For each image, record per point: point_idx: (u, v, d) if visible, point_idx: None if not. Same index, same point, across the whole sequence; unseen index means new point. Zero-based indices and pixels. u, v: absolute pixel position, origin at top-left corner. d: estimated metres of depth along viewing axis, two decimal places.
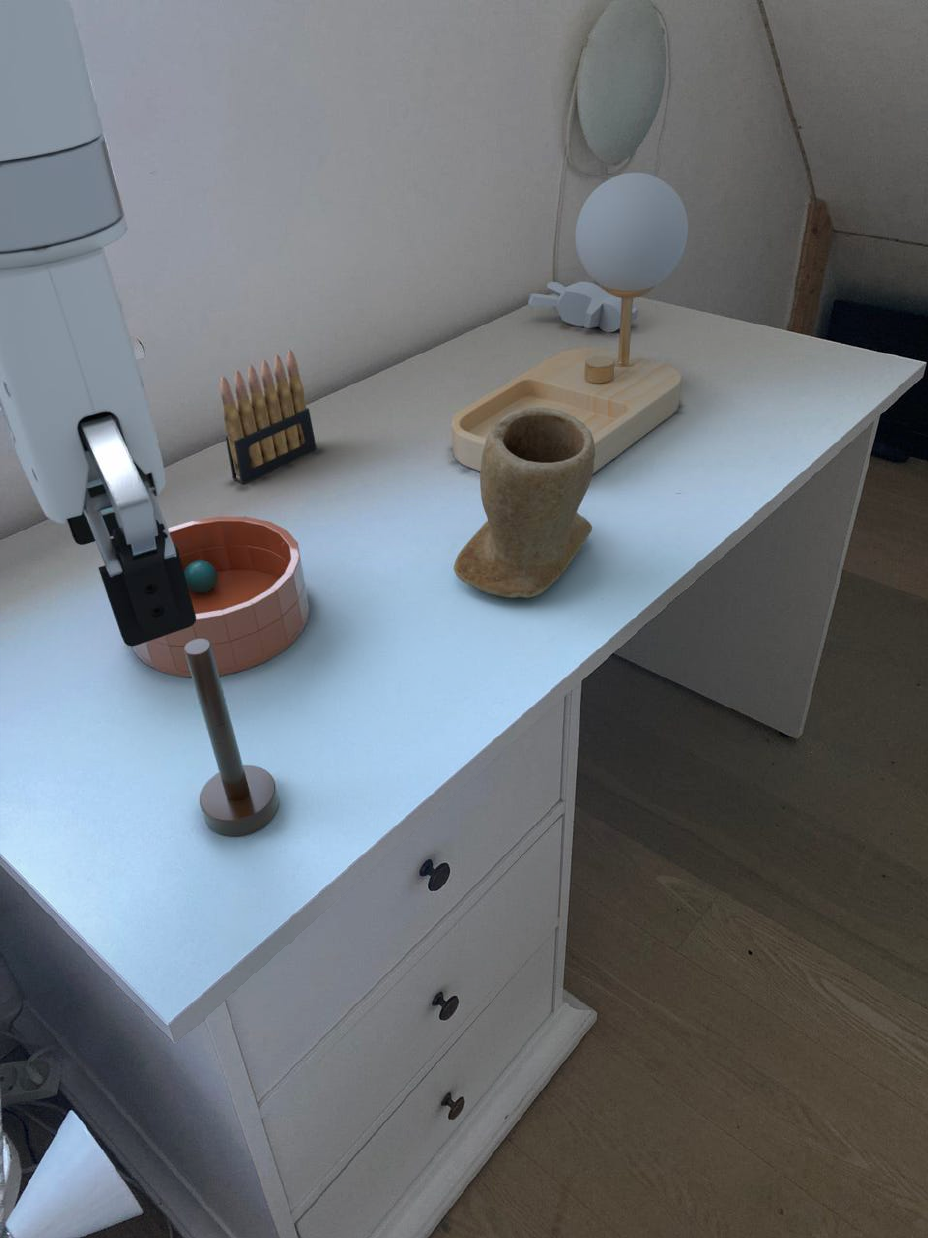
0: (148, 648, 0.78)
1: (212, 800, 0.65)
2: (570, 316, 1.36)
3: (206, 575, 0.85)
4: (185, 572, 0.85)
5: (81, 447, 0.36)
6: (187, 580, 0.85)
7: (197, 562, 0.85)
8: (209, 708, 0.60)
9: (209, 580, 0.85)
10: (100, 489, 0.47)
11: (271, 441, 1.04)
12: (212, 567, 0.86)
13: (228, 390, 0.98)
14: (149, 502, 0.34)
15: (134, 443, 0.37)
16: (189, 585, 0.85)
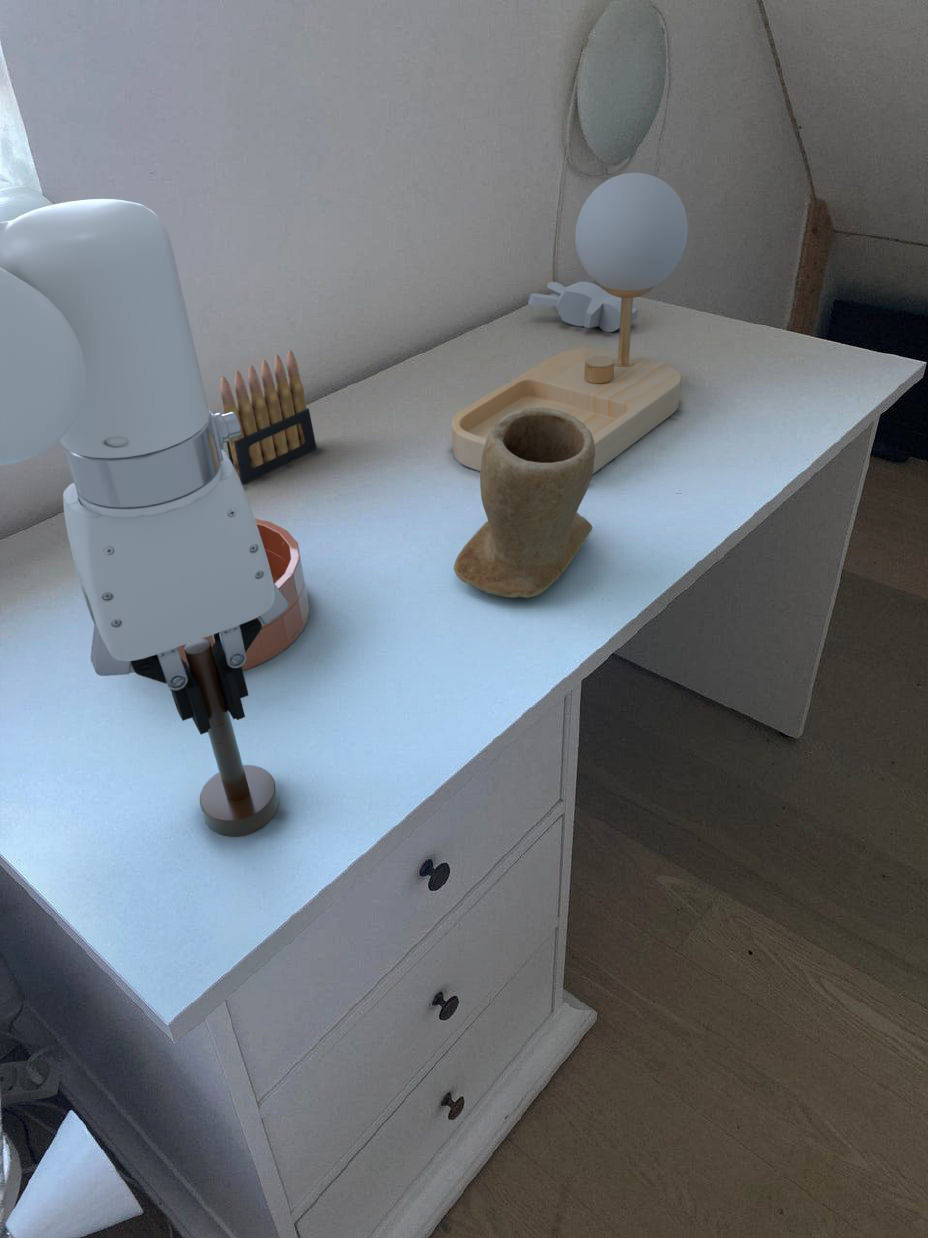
0: None
1: (212, 800, 0.65)
2: (570, 316, 1.36)
3: None
4: None
5: (85, 599, 0.53)
6: None
7: None
8: (209, 708, 0.60)
9: None
10: (220, 679, 0.59)
11: (271, 441, 1.04)
12: None
13: (228, 390, 0.98)
14: (96, 672, 0.54)
15: None
16: None
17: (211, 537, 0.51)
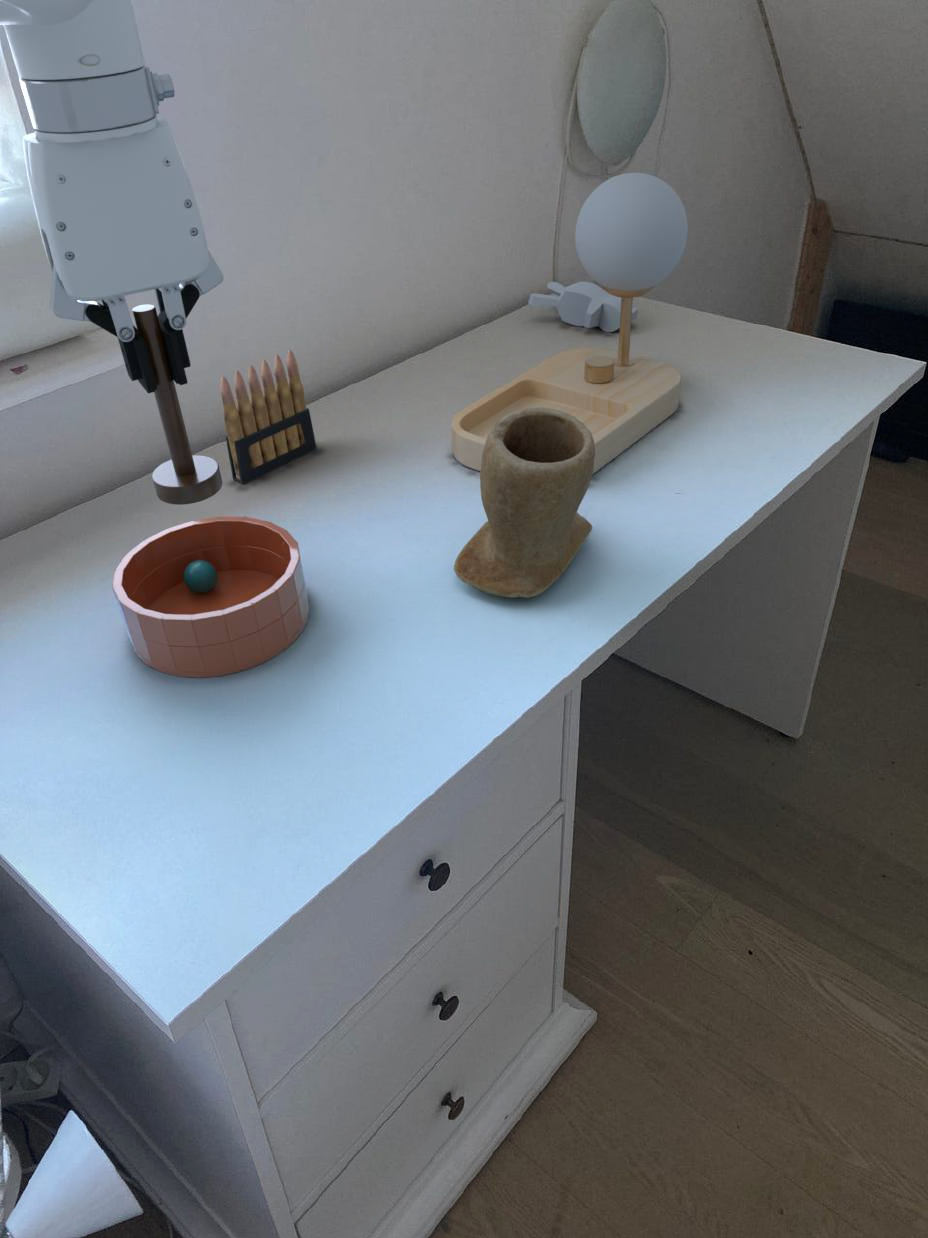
0: (148, 648, 0.78)
1: (162, 475, 0.74)
2: (570, 316, 1.36)
3: (206, 575, 0.85)
4: (185, 572, 0.85)
5: (44, 244, 0.62)
6: (187, 580, 0.85)
7: (197, 562, 0.85)
8: (155, 371, 0.69)
9: (209, 580, 0.85)
10: None
11: (271, 441, 1.04)
12: (212, 567, 0.86)
13: (228, 390, 0.98)
14: None
15: None
16: (189, 585, 0.85)
17: (149, 182, 0.61)
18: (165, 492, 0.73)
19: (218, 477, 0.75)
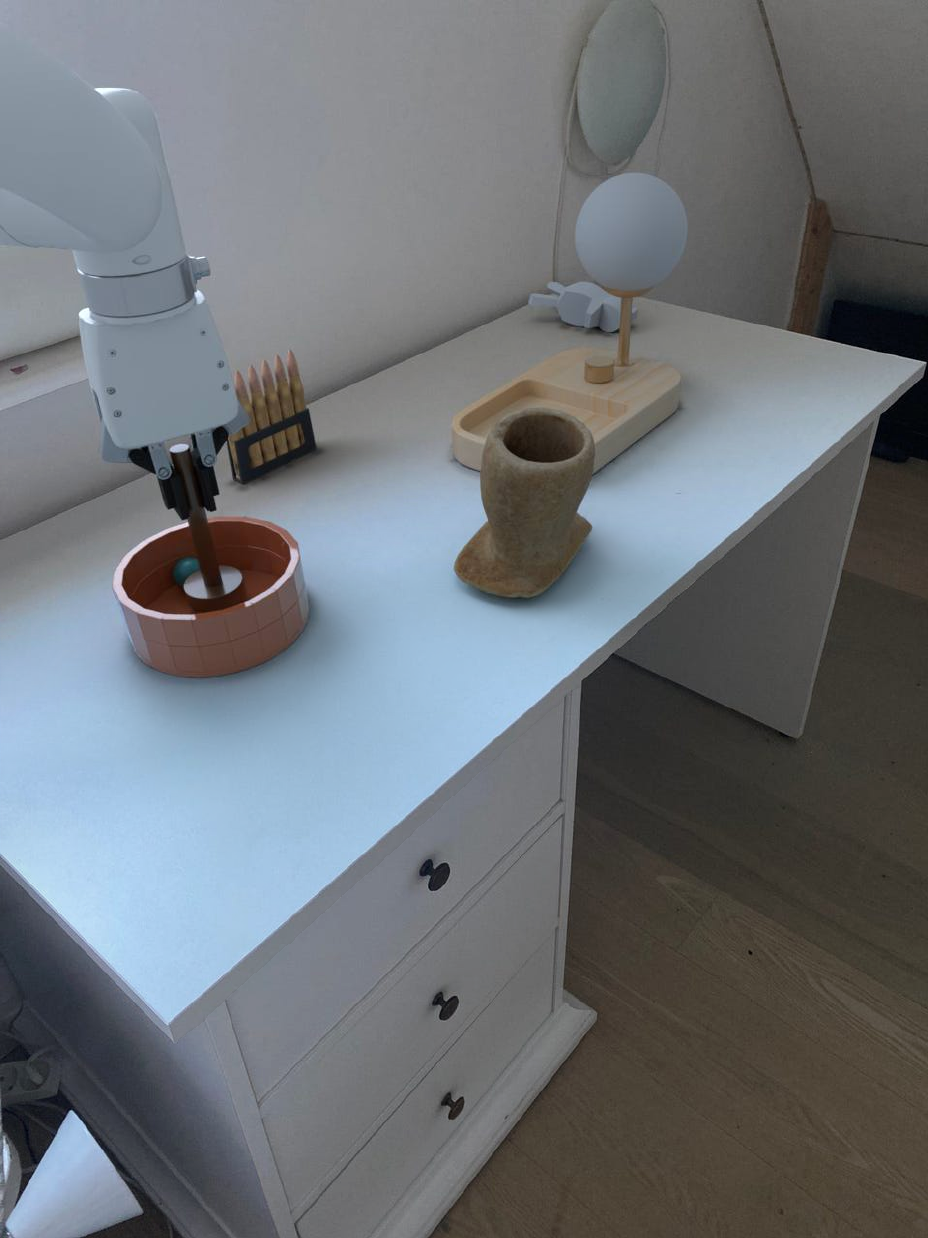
0: (148, 648, 0.78)
1: (193, 586, 0.83)
2: (570, 316, 1.36)
3: (187, 564, 0.85)
4: (173, 572, 0.86)
5: (95, 400, 0.71)
6: (174, 577, 0.86)
7: None
8: (188, 501, 0.78)
9: (190, 567, 0.85)
10: (197, 478, 0.77)
11: (271, 441, 1.04)
12: (195, 559, 0.86)
13: None
14: (102, 458, 0.72)
15: None
16: (177, 581, 0.85)
17: (188, 350, 0.69)
18: (195, 602, 0.82)
19: (242, 587, 0.84)
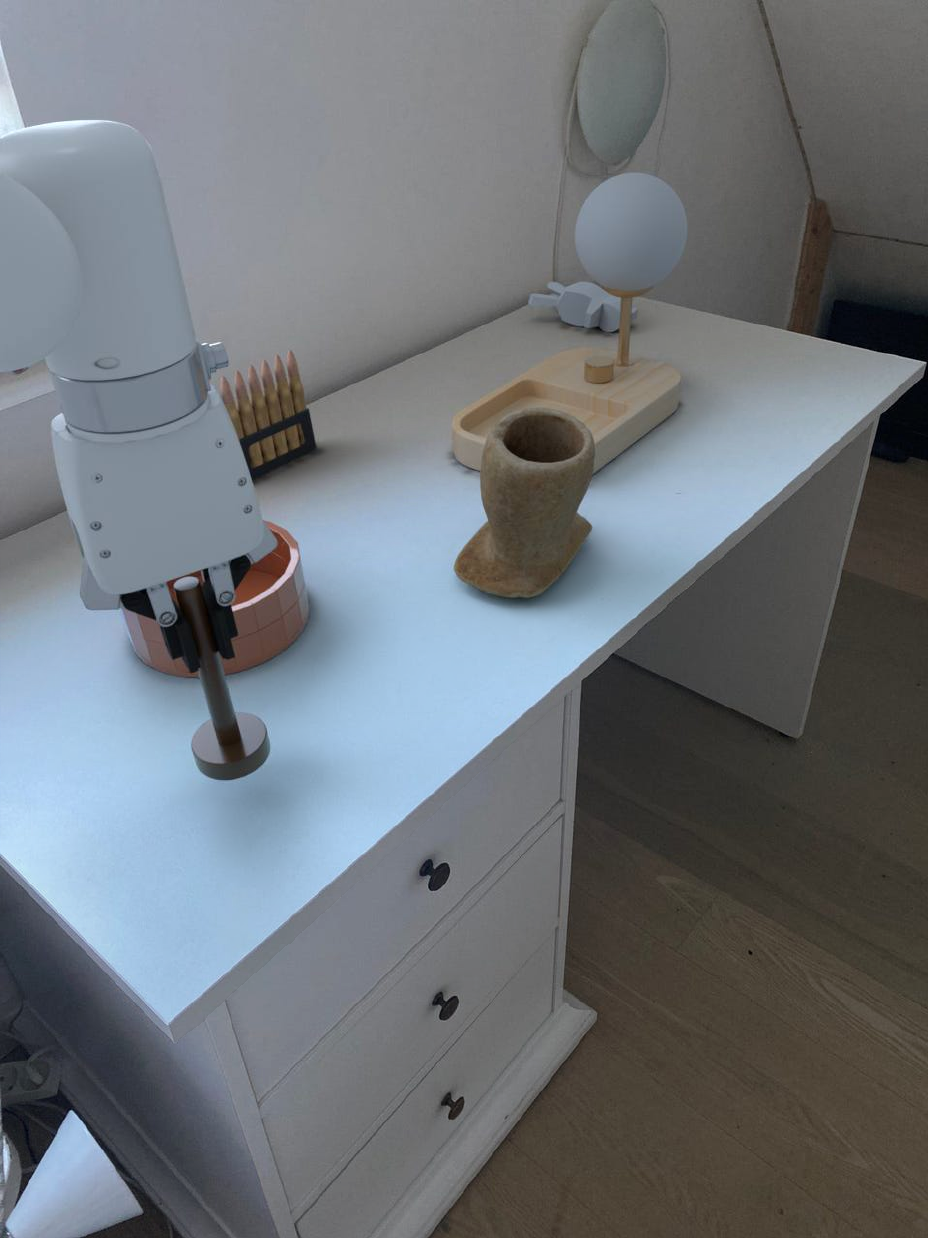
0: (148, 648, 0.78)
1: (203, 746, 0.65)
2: (570, 316, 1.36)
3: None
4: None
5: (74, 532, 0.53)
6: None
7: None
8: (199, 647, 0.60)
9: None
10: None
11: (271, 441, 1.04)
12: None
13: (228, 390, 0.98)
14: (85, 606, 0.54)
15: None
16: None
17: (199, 467, 0.52)
18: (208, 768, 0.64)
19: (267, 744, 0.66)
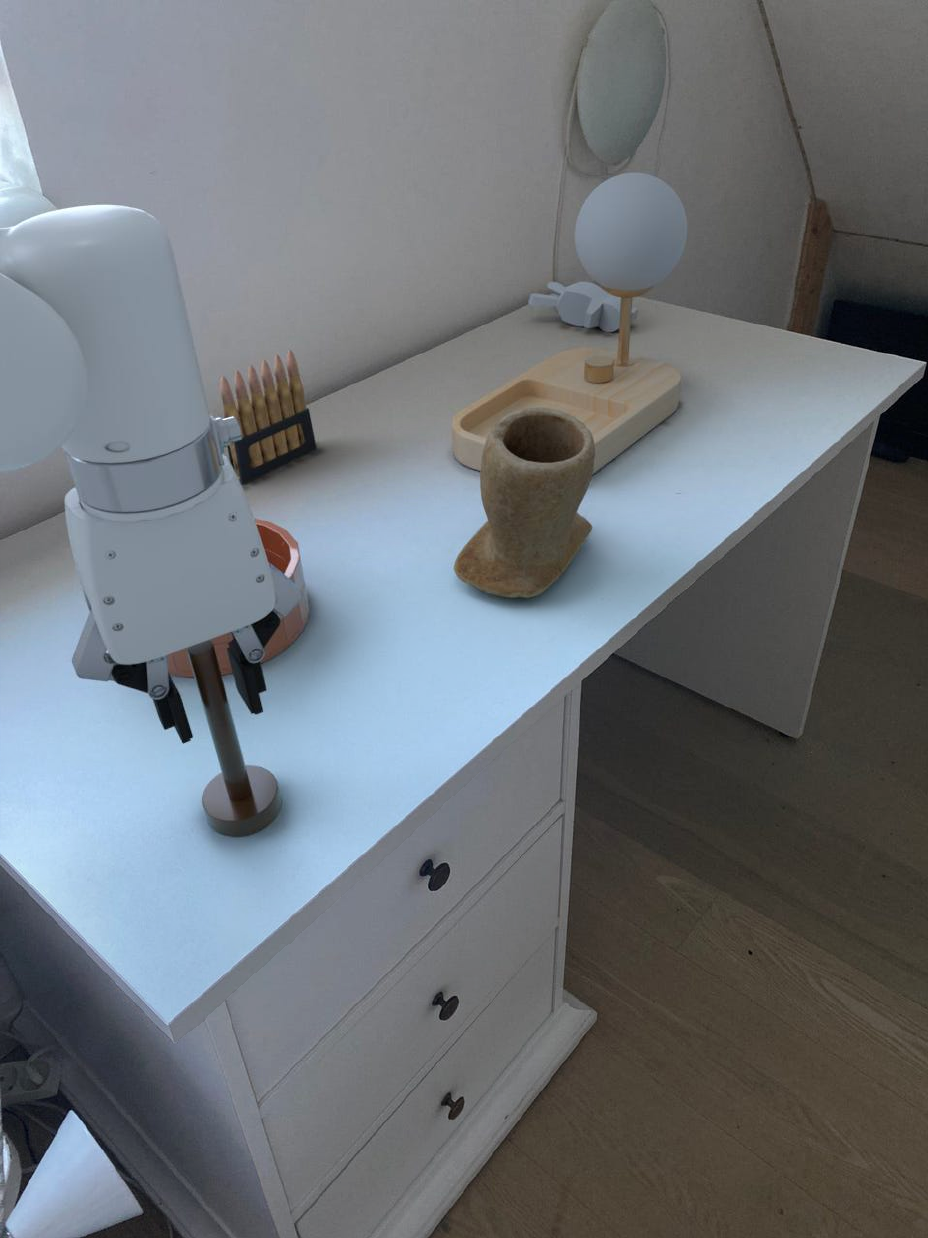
0: None
1: (214, 801, 0.65)
2: (570, 316, 1.36)
3: None
4: None
5: (87, 603, 0.53)
6: None
7: None
8: (211, 708, 0.60)
9: None
10: (238, 674, 0.60)
11: (271, 441, 1.04)
12: None
13: (228, 390, 0.98)
14: (76, 673, 0.54)
15: None
16: None
17: (212, 541, 0.52)
18: (218, 824, 0.64)
19: (278, 799, 0.66)
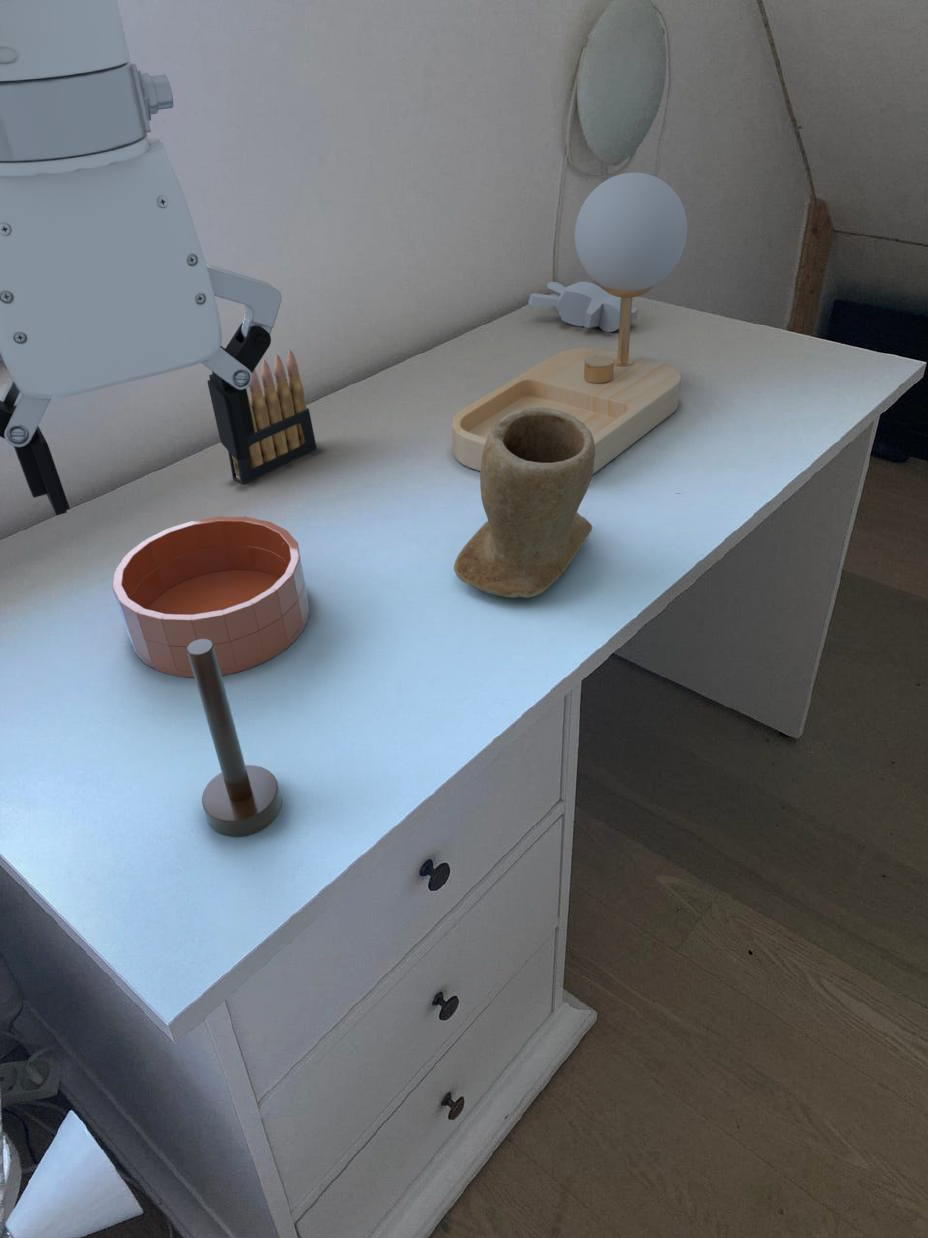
0: (148, 648, 0.78)
1: (214, 801, 0.65)
2: (570, 316, 1.36)
3: None
4: None
5: None
6: None
7: None
8: (211, 708, 0.60)
9: None
10: (221, 409, 0.50)
11: (271, 441, 1.04)
12: None
13: None
14: None
15: None
16: None
17: (137, 231, 0.42)
18: (218, 824, 0.64)
19: (278, 799, 0.66)
